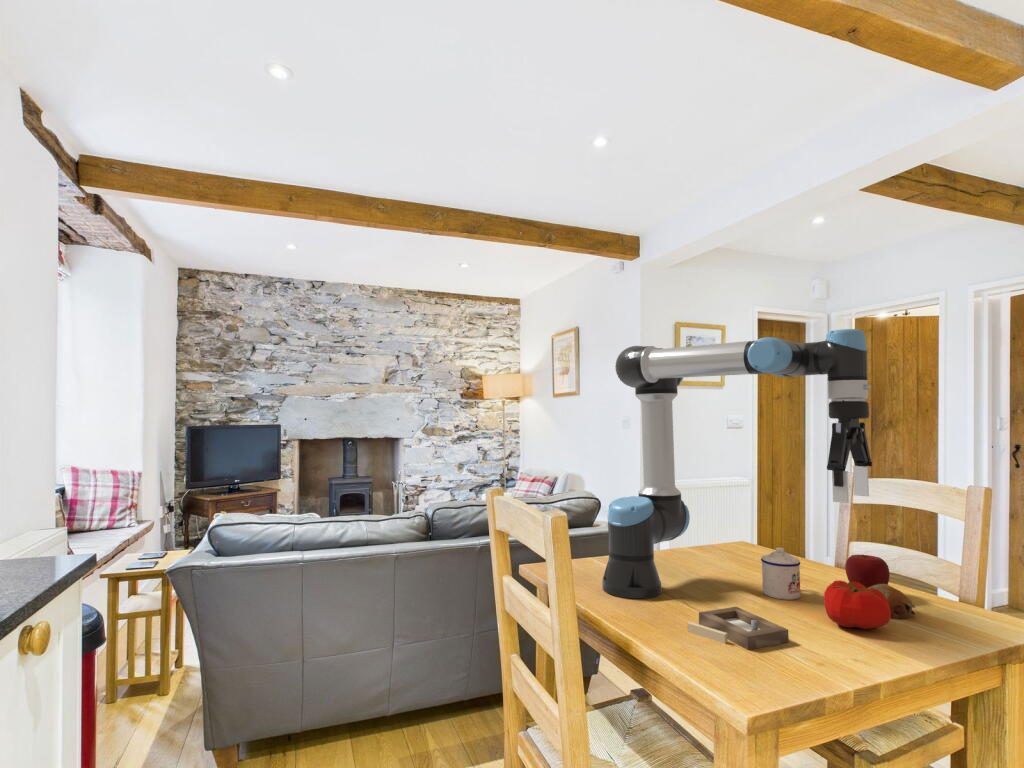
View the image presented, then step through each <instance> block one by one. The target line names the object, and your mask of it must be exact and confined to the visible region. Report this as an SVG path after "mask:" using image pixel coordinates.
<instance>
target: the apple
mask: <svg viewBox="0 0 1024 768" xmlns="http://www.w3.org/2000/svg"><path fill="white" fill-rule="evenodd" d="M845 573H846V577H847V580H848V582H849V583H850V582H853V581H854V582H858V583H860V584H862V585H863V586H865V587H866V588H869V587H871V586H873V585H877V584H887V585H889V582H890V568H889V564H887V562H886V561H885V560H884V559H883V558H881V557H879V556H874V555H869V554H851V555H850V556H849V557H847V559H846V560H845Z"/></svg>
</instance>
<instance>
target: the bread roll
mask: <svg viewBox="0 0 1024 768" xmlns="http://www.w3.org/2000/svg"><path fill="white" fill-rule="evenodd" d="M870 588H873V589H875V590H878V591H880V592H881V593H882V594H883V595H884V596H885V597H886V599H887V601H888V603H889V606H890V610H891V618H890V619H895V620H904V619H905V620H907V619H909V618H911V617H912V616H915V615H916V612H915V611H914V610H913V608H914V609H916V608H917V607H916V605H915V604H914V603H913V602H912V600H911V598H909V597H908V596H907V595H906V594H905V593H903V592H902V591H901V590H899V589H897V588H894V586H891V585H889V584H888V585H887V584H877V585H873V586H871V587H869V589H870Z"/></svg>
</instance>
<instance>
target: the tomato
mask: <svg viewBox="0 0 1024 768" xmlns="http://www.w3.org/2000/svg"><path fill="white" fill-rule="evenodd" d="M823 603H824V608H825V613H826V614H827V617H828V618H829V619H830V620H831V621H832V622H834V623H836V624H837V625H839V626H842V627H844V628H858V629H863V630H870V629H875V628H879V627H883V626H885V625H887V624H888V623H889V622H890V620H891V619H892V618H891V610H890V606H889V603H888V601H887V599H886V597H885V596H884V595H883V594H882V593H881V592H880V591H878V590H875V589H873V588H870V589H869V588H866V587H865V586H863V585H862V584H860V583H858V582H854V581H853V582H850V583H849V581H848V582H846V581H845V580H842V579H841V580H838V579H837V580H834V581H833V582H832V583H830V584H829V585H827V587H826V589H825V591H824V594H823Z"/></svg>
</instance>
